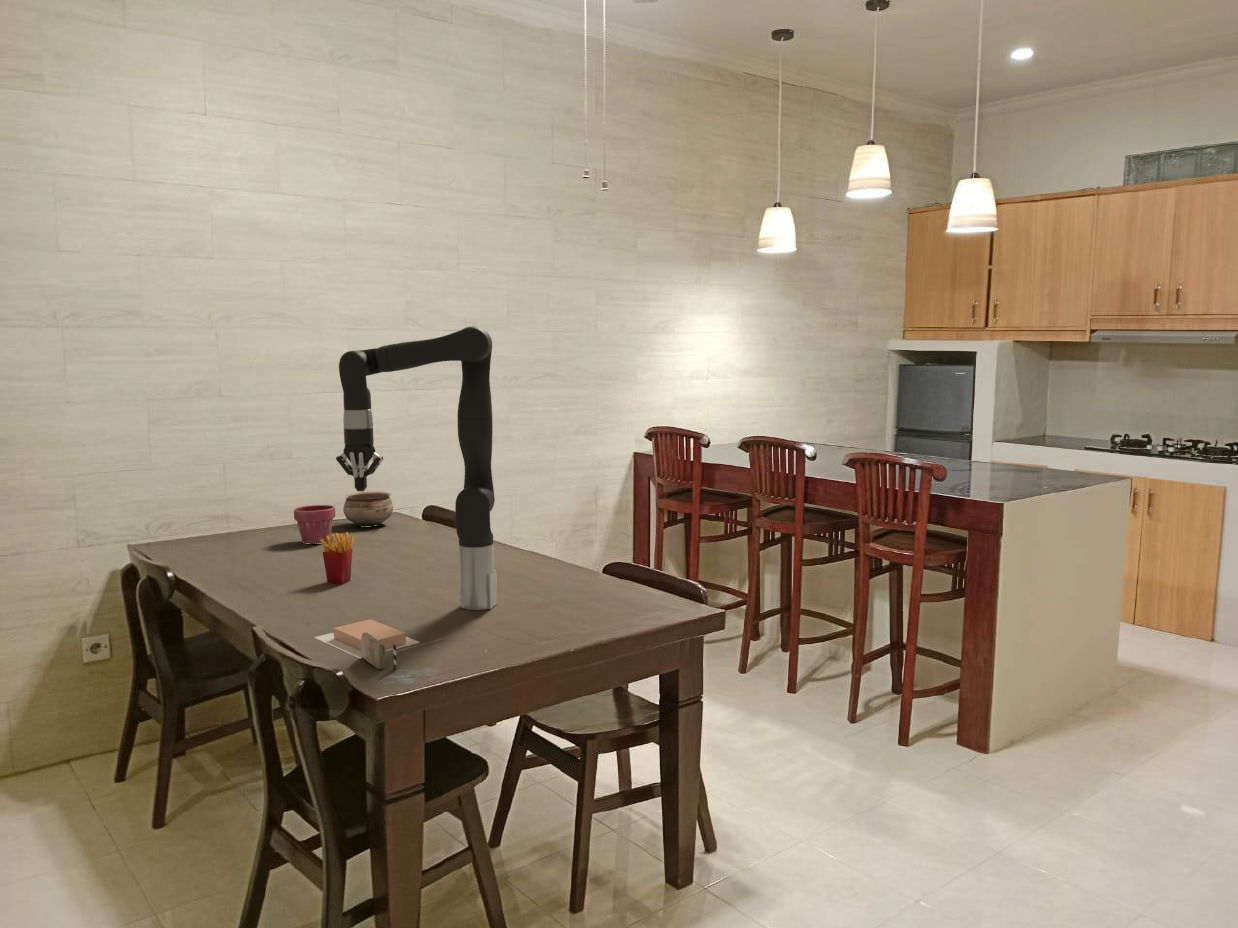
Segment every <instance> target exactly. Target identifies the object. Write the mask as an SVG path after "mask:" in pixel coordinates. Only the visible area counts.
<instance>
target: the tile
mask: <svg viewBox="0 0 1238 928" xmlns="http://www.w3.org/2000/svg"><path fill="white" fill-rule="evenodd" d="M333 633H334V638H335V639H337V640H340V641H342V642H344V643H346V644H349V645H351V646H353V647H355V648H358V649H361V638H362V634H363V633H369V634H370V635H372V636H373V637H374V638H376V639H377V640H378V641H380V642H381V643H383V644H384V646H385V649H386V648H390V647H393V644H394V645H396V646H397V645H401V644H405V643H406V637H407V636H406V635H407V633H406V632H404V631H401V630H400V629H396V628H394V627H391V626H389V625H386V624H383V623H381V622H379V621H376V620H373V619H367V620H361V621H358V622H357V621H356V622H354V623H349V624H345V625H342V626H336V627H333Z"/></svg>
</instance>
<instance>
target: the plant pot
mask: <svg viewBox="0 0 1238 928" xmlns="http://www.w3.org/2000/svg"><path fill="white" fill-rule="evenodd" d="M335 517H336V506H334V505H332V504H331V505H330V504H329V505H328V504H315V505H313V504H312V505H304V506H299V507H295V508H294V509H293V518H294V520H295V521H296V522H297V528H298V531H299V534H300V537H301V540H302V543H303V542H304V543H310V544H315V543H316V544H317V543H321V541H320V539H323V540H324V541H325V542H328V541H327V539H326V536H329V538H330V539H331V536H332V535H331V534H332V528H333V520H334V519H335Z"/></svg>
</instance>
